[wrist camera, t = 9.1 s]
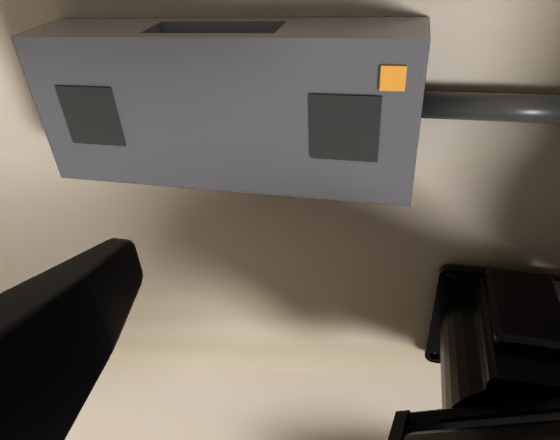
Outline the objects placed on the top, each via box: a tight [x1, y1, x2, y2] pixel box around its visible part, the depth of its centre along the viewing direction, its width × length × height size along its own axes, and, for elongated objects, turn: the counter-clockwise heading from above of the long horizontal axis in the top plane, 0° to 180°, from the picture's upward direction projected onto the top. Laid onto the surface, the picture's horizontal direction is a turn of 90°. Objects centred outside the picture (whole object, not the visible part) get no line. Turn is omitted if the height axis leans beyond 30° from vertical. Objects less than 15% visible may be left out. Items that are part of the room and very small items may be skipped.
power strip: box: [11, 17, 560, 207], centre depth 18 cm, size 6×22×3 cm, turn 93°
